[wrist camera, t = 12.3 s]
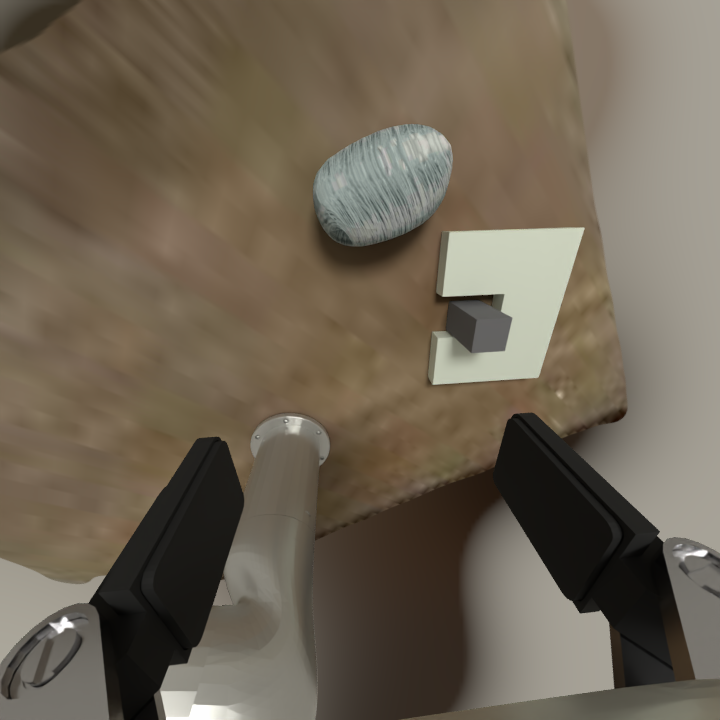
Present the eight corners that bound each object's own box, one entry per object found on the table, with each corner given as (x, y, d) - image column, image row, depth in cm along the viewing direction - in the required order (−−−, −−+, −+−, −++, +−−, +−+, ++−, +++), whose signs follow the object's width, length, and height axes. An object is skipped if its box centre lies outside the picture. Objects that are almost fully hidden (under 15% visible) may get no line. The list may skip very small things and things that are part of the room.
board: (528, 369, 42) (538, 377, 40) (427, 376, 41) (432, 384, 39) (568, 227, 34) (584, 227, 31) (442, 231, 33) (449, 232, 30)
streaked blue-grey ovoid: (330, 275, 31) (337, 226, 21) (300, 196, 31) (294, 110, 21) (435, 242, 33) (487, 184, 23) (407, 170, 33) (447, 81, 23)
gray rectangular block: (473, 327, 39) (504, 351, 31) (445, 329, 38) (471, 353, 31) (477, 299, 37) (512, 317, 30) (449, 301, 36) (476, 319, 29)
